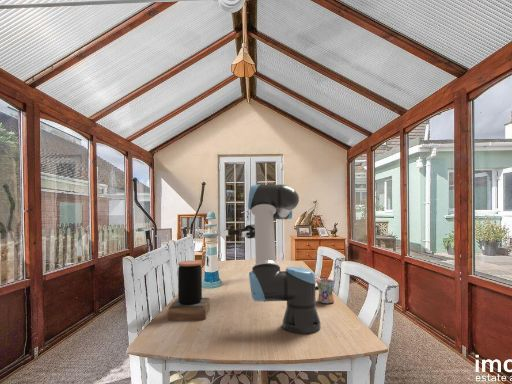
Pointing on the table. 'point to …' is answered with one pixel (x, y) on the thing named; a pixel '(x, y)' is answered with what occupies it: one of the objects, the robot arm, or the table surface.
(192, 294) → the coffee jar
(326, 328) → the table surface
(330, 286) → the mug
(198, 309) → the walnut stand
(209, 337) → the table surface
